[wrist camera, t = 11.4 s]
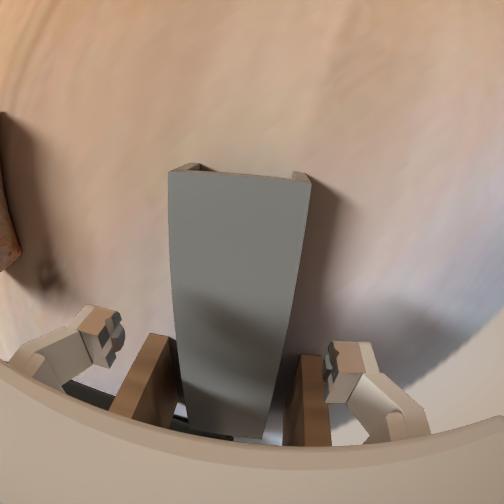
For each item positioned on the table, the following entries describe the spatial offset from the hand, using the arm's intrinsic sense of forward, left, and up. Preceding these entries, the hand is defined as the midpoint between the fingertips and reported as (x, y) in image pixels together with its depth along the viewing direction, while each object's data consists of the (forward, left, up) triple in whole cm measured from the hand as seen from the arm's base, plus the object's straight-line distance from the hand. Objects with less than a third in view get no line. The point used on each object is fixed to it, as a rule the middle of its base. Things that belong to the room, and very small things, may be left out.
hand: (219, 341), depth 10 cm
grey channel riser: (+5, 0, -7) cm, 8 cm away
